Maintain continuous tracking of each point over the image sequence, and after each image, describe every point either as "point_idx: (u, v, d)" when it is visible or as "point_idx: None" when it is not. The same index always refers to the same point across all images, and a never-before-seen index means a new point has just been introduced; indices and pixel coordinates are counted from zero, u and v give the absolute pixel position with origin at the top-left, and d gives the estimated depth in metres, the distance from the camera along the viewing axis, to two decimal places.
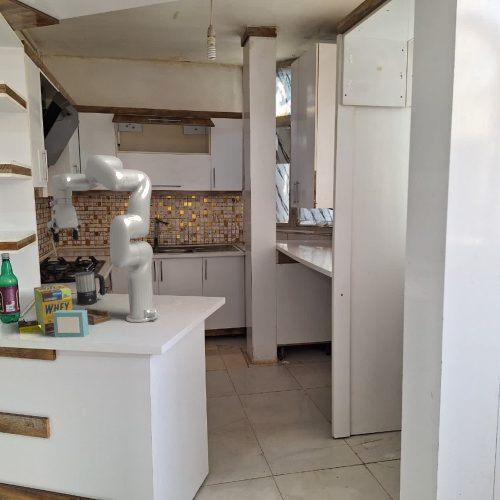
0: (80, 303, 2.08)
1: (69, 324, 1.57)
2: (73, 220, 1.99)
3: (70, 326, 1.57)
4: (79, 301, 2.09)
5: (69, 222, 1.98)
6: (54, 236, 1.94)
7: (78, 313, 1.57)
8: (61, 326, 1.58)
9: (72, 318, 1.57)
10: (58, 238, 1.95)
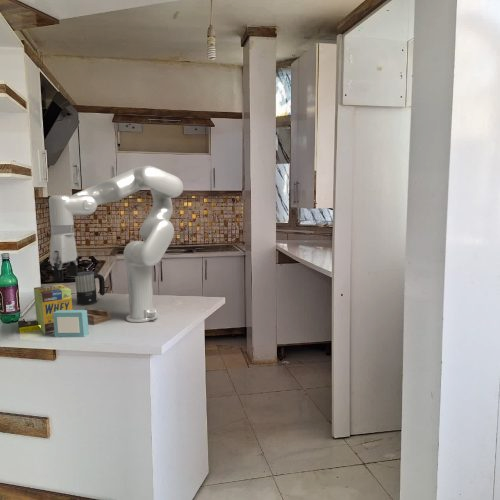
0: (80, 303, 2.08)
1: (69, 324, 1.57)
2: None
3: (70, 326, 1.57)
4: (79, 301, 2.09)
5: None
6: None
7: (78, 313, 1.57)
8: (61, 326, 1.58)
9: (72, 318, 1.57)
10: None
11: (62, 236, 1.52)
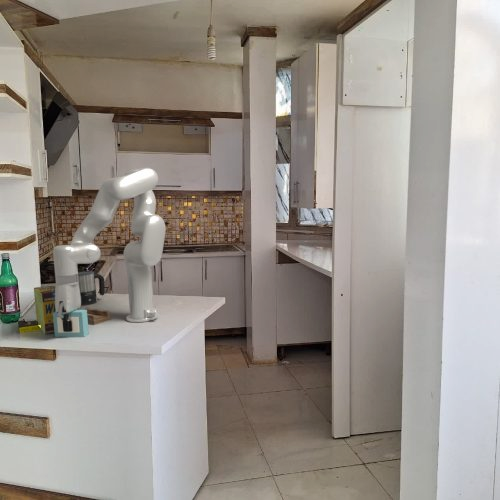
0: None
1: None
2: None
3: None
4: None
5: None
6: None
7: (78, 313, 1.57)
8: (61, 326, 1.58)
9: (72, 318, 1.57)
10: None
11: (67, 286, 1.54)
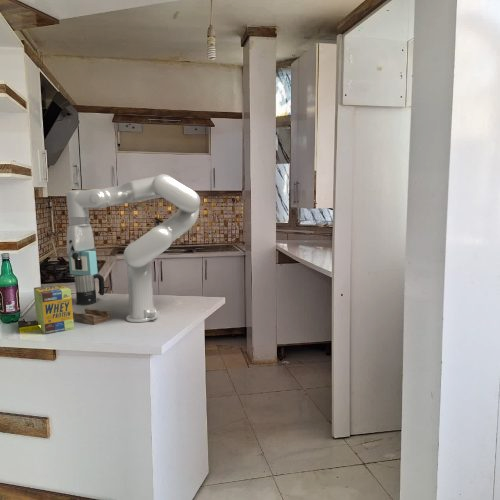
0: (79, 303, 2.09)
1: None
2: None
3: None
4: (78, 301, 2.09)
5: None
6: None
7: (86, 252, 1.70)
8: (74, 264, 1.73)
9: (81, 257, 1.71)
10: None
11: (75, 227, 1.68)
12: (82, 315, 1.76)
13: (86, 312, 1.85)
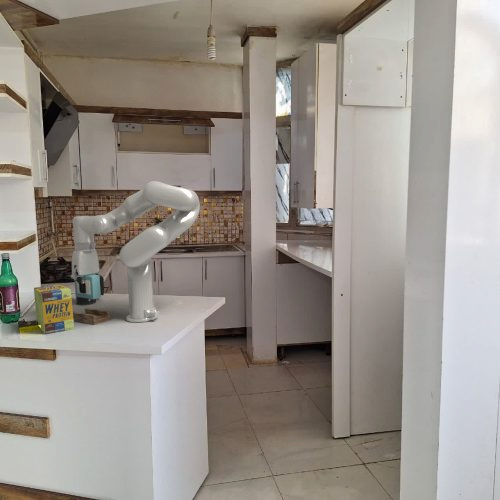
0: (79, 303, 2.09)
1: None
2: None
3: None
4: (78, 301, 2.09)
5: None
6: None
7: (89, 277, 1.74)
8: None
9: (85, 281, 1.76)
10: None
11: (80, 252, 1.73)
12: (82, 315, 1.76)
13: (86, 312, 1.85)
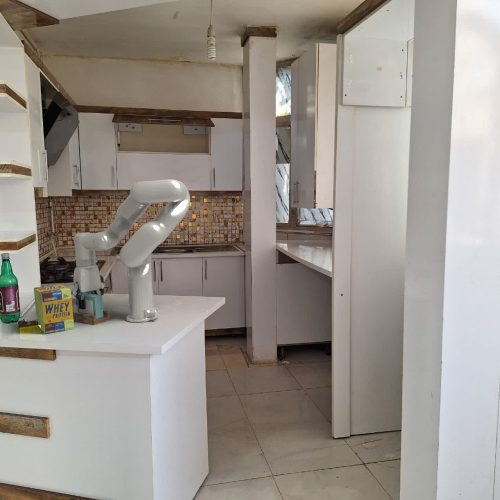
0: None
1: (86, 306, 1.77)
2: None
3: (87, 308, 1.77)
4: None
5: None
6: None
7: (92, 297, 1.75)
8: None
9: (88, 301, 1.76)
10: None
11: (81, 269, 1.73)
12: (82, 315, 1.76)
13: None
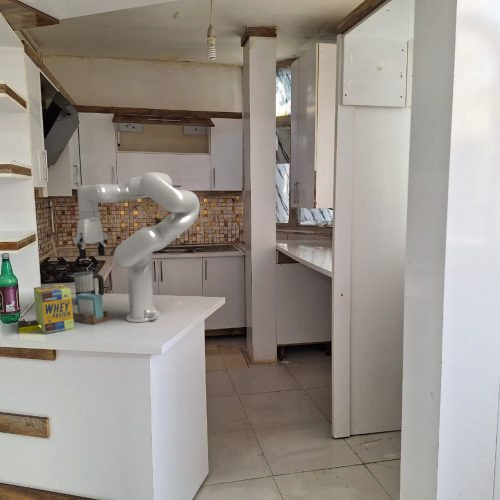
0: None
1: (86, 306, 1.77)
2: None
3: (87, 308, 1.77)
4: None
5: None
6: None
7: (92, 297, 1.75)
8: (81, 307, 1.79)
9: (88, 301, 1.76)
10: None
11: (85, 220, 1.77)
12: (82, 315, 1.76)
13: None
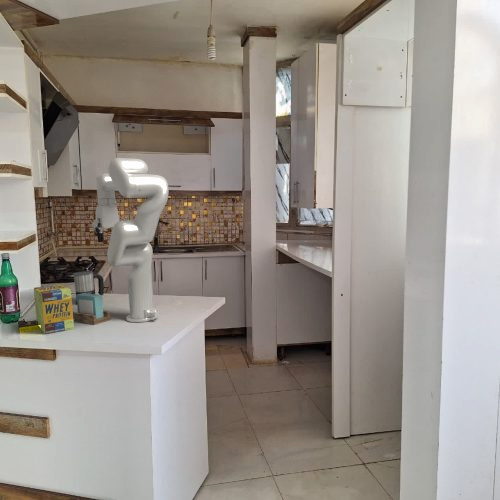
0: None
1: (86, 306, 1.77)
2: None
3: (87, 308, 1.77)
4: None
5: None
6: None
7: (92, 297, 1.75)
8: (81, 307, 1.79)
9: (88, 301, 1.76)
10: None
11: (103, 207, 1.94)
12: (82, 315, 1.76)
13: None
